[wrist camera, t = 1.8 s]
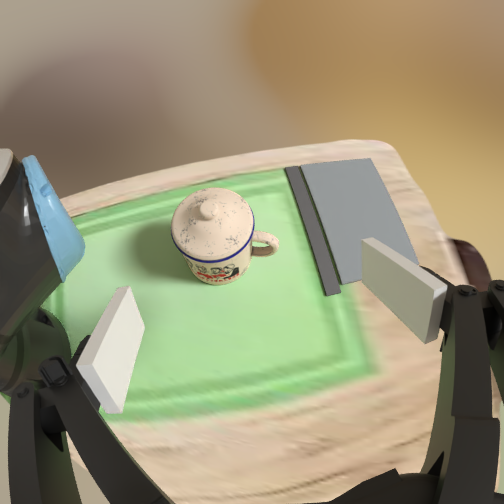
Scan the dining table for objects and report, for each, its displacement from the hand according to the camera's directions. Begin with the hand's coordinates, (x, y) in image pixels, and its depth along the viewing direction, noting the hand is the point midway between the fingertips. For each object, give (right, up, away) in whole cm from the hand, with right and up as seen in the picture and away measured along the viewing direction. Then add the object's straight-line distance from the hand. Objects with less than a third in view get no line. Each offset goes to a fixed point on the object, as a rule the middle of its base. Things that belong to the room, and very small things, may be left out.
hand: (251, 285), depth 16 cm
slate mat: (+16, +8, +26) cm, 32 cm away
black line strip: (+8, +6, +25) cm, 27 cm away
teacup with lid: (-3, +1, +24) cm, 24 cm away
